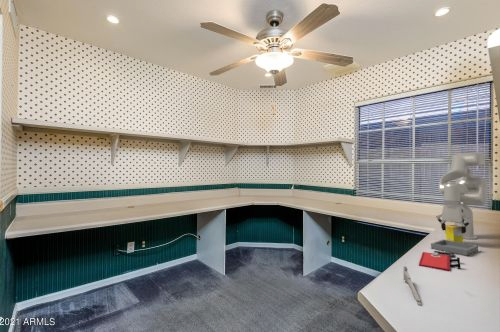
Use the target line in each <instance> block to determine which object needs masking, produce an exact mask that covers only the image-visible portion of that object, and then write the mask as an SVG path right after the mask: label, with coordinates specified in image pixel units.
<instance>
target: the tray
mask: <svg viewBox="0 0 500 332" xmlns="http://www.w3.org/2000/svg"><path fill="white" fill-rule="evenodd" d="M430 245H431V246H430V249H432V250H434V251H440V250H441V251H440V252H444V251H445V252H448V253H454V255H458V256H463V257H468V256H470V255H473V254H475V253H478V252H479V246H478V244H477V245H476V244H471V243H464V242H463V243H460V242H455V241H449V240H446V239H441V240H438V241H435V242H431V243H430Z"/></svg>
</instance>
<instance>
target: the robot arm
mask: <svg viewBox="0 0 500 332" xmlns="http://www.w3.org/2000/svg"><path fill="white" fill-rule="evenodd" d="M485 162H486V156H485V154H484V152H481V151H478V152H466V153H465V152H464V153H463V152H462V153H457V154H454V155H453V156H452V160H451V164H450V169H449V171H447V172H446V173H445V174H444V175H442V176H441V177H440V179H439V182H438V188H437V189H438V190H437V191H438V194H440V195H443V196H444V198H443V199H444V205H443V206H442V212H441V214H438V215H436V219H437V221H438V223H440V225H441V231H445V225H446V222H449V223H454V225H456V226H460V227H461V231H462V233H463V240H465V239H467V240H477V239H478V236H477V235H475V233H474V214H473V210H472V209H471V208H470V207H469V205H470V206H485V205H486V204H487V200H488V181H487V179H486V178H484V177H482V176H474V172H473V170H471V168H470V167H476V166H482V165H483V164H484V163H485ZM454 180H456V181H455V183H450V182H451V181H454Z"/></svg>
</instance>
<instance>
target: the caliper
mask: <svg viewBox="0 0 500 332" xmlns="http://www.w3.org/2000/svg"><path fill="white" fill-rule="evenodd" d="M402 272H403V273H402V274H403V281H404V280H405V281H404V283H406V282H407V283H406V284H408V287H409V288H410V290H411V294H412V297H413V298H414V300H416V301H415V302H417V303H416V304H417V306H421V305H422V303H421V299H420V297H419V295H418V292H417V290H416V288H415V285H414V283H413V282H412V279H411V276H410V273H409V271H408V268H407V266H405V265H404V266H403V271H402Z"/></svg>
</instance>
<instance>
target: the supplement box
mask: <svg viewBox="0 0 500 332" xmlns="http://www.w3.org/2000/svg"><path fill="white" fill-rule="evenodd" d="M444 232H445V240H449V241H455V242H460V243H464V238H463V233H462V231H461V227H460V226H456V225H455V224H452V225H451V224H450V225H449V224H447V225H445V230H444Z"/></svg>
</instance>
